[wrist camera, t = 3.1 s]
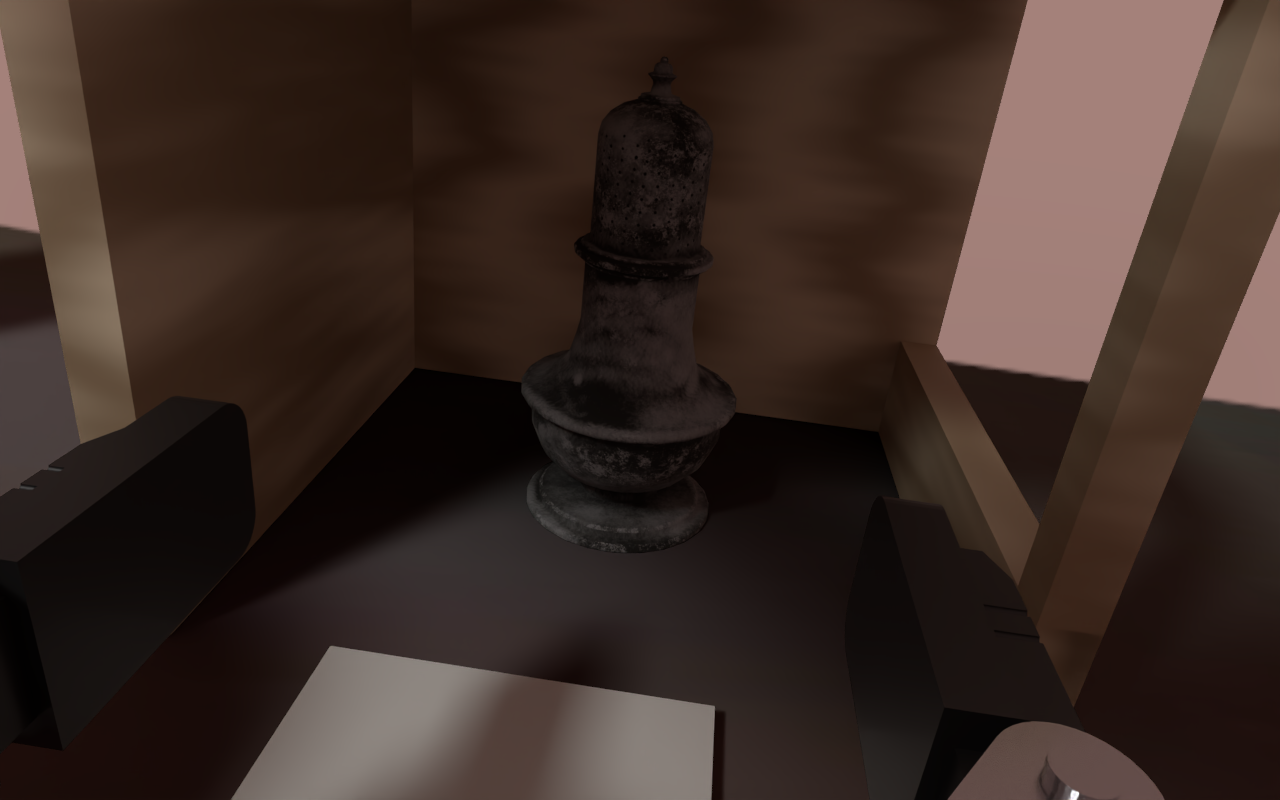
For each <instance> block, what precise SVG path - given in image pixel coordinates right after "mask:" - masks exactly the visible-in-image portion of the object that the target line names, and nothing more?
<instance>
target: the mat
mask: <svg viewBox="0 0 1280 800" xmlns="http://www.w3.org/2000/svg"><path fill="white" fill-rule="evenodd" d="M714 718H715V706H710V705H704V704H697V703H691V702H685V701H678V700H672V699H665V698H659V697H653V696H646V695H640V694H634V693H627V692H621V691H615V690H608V689H602V688H596V687H589V686H583V685H577V684H570V683H564V682H557V681H551V680H545V679H538V678H532V677H526V676H519V675H513V674H507V673H500V672H494V671H488V670H481V669H475V668H469V667H462V666H456V665H449V664H443V663H437V662H430V661H424V660H418V659H411V658H405V657H399V656H392V655H386V654H380V653H373V652H367V651H361V650H354V649H348V648H341V647H335V646H330V647H329V649H328V650H327V652H326V654H325V655H324V657H323V658H322V660H321V661H320V663H319V664H318V666H317V667H316V669H315V671H314V672H313V674H312V675H311V677H310V678H309V680H308V681H307V683H306V684H305V686H304V688H303V689H302V691H301V692H300V694H299V695H298V697H297V698H296V700H295V701H294V703H293V705H292V706H291V708H290V709H289V711H288V712H287V714H286V715H285V717H284V718H283V720H282V722H281V723H280V725H279V726H278V728H277V729H276V731H275V732H274V734H273V735H272V737H271V739H270V740H269V742H268V743H267V745H266V746H265V748H264V749H263V751H262V753H261V754H260V756H259V757H258V759H257V760H256V762H255V763H254V765H253V766H252V768H251V770H250V771H249V773H248V774H247V776H246V777H245V779H244V780H243V782H242V783H241V785H240V787H239V788H238V790H237V791H236V793H235V794H234V796H233V797H232V799H231V800H711V794H712V769H713V743H714Z"/></svg>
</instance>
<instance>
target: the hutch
mask: <svg viewBox="0 0 1280 800" xmlns="http://www.w3.org/2000/svg"><path fill="white" fill-rule="evenodd" d="M1026 4H1027V0H0V29H1V34H2V39H3V45H4V50H5V54H6V60H7V65H8V70H9V75H10V81H11V86H12V91H13V96H14V101H15V107H16V112H17V117H18V122H19V127H20V132H21V137H22V143H23V148H24V153H25V158H26V163H27V169H28V173H29V179H30V184H31V189H32V194H33V199H34V205H35V210H36V215H37V220H38V225H39V230H40V236H41V241H42V246H43V251H44V256H45V261H46V267H47V272H48V277H49V282H50V287H51V292H52V298H53V303H54V308H55V313H56V318H57V323H58V328H59V334H60V339H61V344H62V349H63V354H64V359H65V365H66V370H67V375H68V380H69V385H70V390H71V396H72V401H73V406H74V411H75V416H76V421H77V427H78V432H79V437H80V442H81V444H82V443H85V442H87V441H90V440H93V439H95V438H98V437H101V436H103V435H106V434H109V433H112V432H114V431H117V430H120V429H122V428H125V427H126V426H128V425H129V424H131V423H132V422H134V421H135V420H137V419H138V418H140V417H141V416H143V415H144V414H146V413H147V412H149V411H150V410H152V409H153V408H155V407H156V406H158V405H159V404H161V403H162V402H164V401H165V400H167V399H168V398H170V397H173V396H184V397H191V398H199V399H206V400H213V401H220V402H227V403H234V404H236V405H238V406H239V407H240V408H241V409H242V410H243V412H244V414H245V417H246V421H247V428H248V438H249V448H250V458H251V468H252V477H253V487H254V497H255V508H256V517H255V525H254V530H253V534H252V537H251V540H250V542H249V545H248V547H247V549H246V551H245V552H244V554H245V553H246V552H247V551H248V550H249V549H250V548H251V547H252V546H253V544H254V543H255V542H256V541H257V540H258V539H259V538H260V537H261V536H262V535H263V534H264V532H265V531H266V530H267V529H268V528H269V527H270V526H271V525H272V524H273V523H274V521H275V520H276V519H277V518H278V517H279V516H280V515H281V514H282V513H283V512H284V511H285V509H286V508H287V507H288V506H289V505H290V504H291V503H292V502H293V501H294V500H295V498H296V497H297V496H298V495H299V494H300V493H301V492H302V491H303V490H304V489H305V488H306V486H307V485H308V484H309V483H310V482H311V481H312V480H313V479H314V478H315V477H316V475H317V474H318V473H319V472H320V471H321V470H322V469H323V468H324V467H325V466H326V464H327V463H328V462H329V461H330V460H331V459H332V458H333V457H334V456H335V455H336V454H337V452H338V451H339V450H340V449H341V448H342V447H343V446H344V445H345V444H346V443H347V441H348V440H349V439H350V438H351V437H352V436H353V435H354V434H355V433H356V432H357V431H358V429H359V428H360V427H361V426H362V425H363V424H364V423H365V422H366V421H367V420H368V418H369V417H370V416H371V415H372V414H373V413H374V412H375V411H376V410H377V409H378V408H379V406H380V405H381V404H382V403H383V402H384V401H385V400H386V399H387V398H388V397H389V395H390V394H391V393H392V392H393V391H394V390H395V389H396V388H397V387H398V386H399V384H400V383H401V382H402V381H403V380H404V379H405V378H406V377H407V376H408V375H409V374H410V372H411V371H412V370H413V369H414V368H420V369H427V370H435V371H442V372H449V373H456V374H463V375H471V376H478V377H485V378H492V379H500V380H507V381H514V382H521V383H522V377H523V375H524V374H525V372H526V371H527V369H528V368H529V367H530V366H531V365H532V364H534V363H535V362H537V361H539V360H540V359H542V358H543V357H545V356H548V355H551V354H554V353H557V352H560V351H563V350H569V349H570V347H571V345H572V342H573V339H574V337H575V334H576V331H577V328H578V325H579V321H580V318H581V307H582V294H583V281H584V268H585V261H584V260H583V259H582V258H581V257H580V256H578V255H577V254H576V252H575V249H574V243H575V242H576V241H577V239H578V238H580V237H582V236H584V235H586V234H587V233H590V230H591V218H592V205H593V192H594V179H595V167H596V154H597V141H598V132H599V129H600V125H601V122H602V120H603V119H604V118H605V117H606V115H607V114H608V113H609V112H610V110H612V109H614V108H615V107H617V106H619V105H620V104H622V103H624V102H626V101H631V100H635V99H638V97H639V96H641V93H644V92H651V88H652V85H653V80H652V78H651V77H650V76H649V75H648V73H650V72H653V71H654V67H655V64H657V63H658V62H660V60H661V58H662V57H664V56H665V57H667V58H668V63H669V64H671V65H672V66H673V74H674V75H676V76H677V78H676V79H674V80H673V81H672V83H671V93H672V94H673V95H676V96H678V97H680V100H681V101H682V104H684V105H686V106H688V107H690V108H692V109H694V110H695V111H696V112H697V113H699V114H700V115H701V116H702V117H703V118H704V119H705V120H706V121H707V123H708V125H709V127H710V129H711V131H712V133H713V142H714V148H713V155H712V163H711V170H710V178H709V185H708V193H707V200H706V208H705V215H704V223H703V230H702V238H701V245H702V246H704V248H705V249H707V250H708V251H709V252H710V253H711V254H712V256H713V257H714V261H713V266H712V267H711V268H709V269H708V270H707V271H705V272H703V273H701V274H700V275H699V283H698V290H697V297H696V305H695V312H694V319H693V327H692V332H693V343H694V351H695V357H696V363H698V364H701V365H702V366H704V367H706V368H708V369H709V370H711V371H713V372H715V373H716V374H718V375H719V376H720V377H721V378H722V379H723V380H725V381H726V382H727V383H728V384H729V385H730V387H731V388H732V390H733V392H734V394H735V396H736V398H737V401H736V410H735V412H738V413H745V414H753V415H760V416H767V417H774V418H782V419H789V420H796V421H803V422H810V423H818V424H825V425H832V426H839V427H847V428H854V429H861V430H868V431H875V432H879V435H880V438H881V442H882V445H883V448H884V451H885V454H886V457H887V460H888V463H889V466H890V470H891V473H892V476H893V479H894V482H895V485H896V488H897V491H898V494H899V498H900V499H907V500H914V501H921V502H928V503H935V504H940V505H942V506H943V507H944V509H945V512H946V514H947V517H948V519H949V521H950V524H951V526H952V529H953V531H954V534H955V536H956V539H957V541H958V544H959V546H960V548H964V549H971V550H978V551H983V552H984V553H985V554H986V555H987V556H988V557H989V558H990V559H991V560H992V561H994V562H995V563H996V564H997V565H998V566H999V567H1000V568H1001V569H1002V570H1003V571H1004V572H1005V573H1006V574H1007V575H1008V576H1009V577H1010V578H1011V579H1012V580H1013V581H1014V583H1015V585H1016V587H1017V590H1018V592H1019V594H1020V596H1021V598H1022V600H1023V602H1024V604H1025V606H1026V608H1027V617H1031V619H1032V621H1033V623H1034V625H1035V627H1036V629H1037V631H1038V634H1039V636H1040V639H1039V642H1040V643H1043V644H1044V646H1045V648H1046V650H1047V652H1048V655H1049V657H1050V659H1051V661H1052V663H1053V665H1054V667H1055V669H1056V671H1057V673H1058V675H1059V678H1060V680H1061V682H1062V684H1063V686H1064V688H1065V690H1066V692H1067V694H1068V696H1069V699H1070V701H1071V703H1072V705H1073V707H1074V706H1075V703H1076V701H1077V699H1078V696H1079V694H1080V691H1081V689H1082V686H1083V684H1084V682H1085V679H1086V677H1087V674H1088V672H1089V670H1090V667H1091V665H1092V662H1093V660H1094V658H1095V655H1096V653H1097V650H1098V648H1099V646H1100V643H1101V641H1102V638H1103V636H1104V634H1105V631H1106V629H1107V626H1108V624H1109V621H1110V619H1111V617H1112V614H1113V612H1114V609H1115V607H1116V605H1117V602H1118V600H1119V597H1120V595H1121V593H1122V590H1123V588H1124V585H1125V583H1126V581H1127V578H1128V576H1129V573H1130V571H1131V569H1132V566H1133V564H1134V561H1135V559H1136V556H1137V554H1138V552H1139V549H1140V547H1141V544H1142V542H1143V540H1144V537H1145V535H1146V532H1147V530H1148V528H1149V525H1150V523H1151V520H1152V518H1153V516H1154V513H1155V511H1156V508H1157V506H1158V504H1159V501H1160V499H1161V496H1162V494H1163V491H1164V489H1165V487H1166V484H1167V482H1168V479H1169V477H1170V475H1171V472H1172V470H1173V467H1174V465H1175V463H1176V460H1177V458H1178V455H1179V453H1180V451H1181V448H1182V446H1183V443H1184V441H1185V438H1186V436H1187V434H1188V431H1189V429H1190V426H1191V424H1192V422H1193V419H1194V417H1195V414H1196V412H1197V410H1198V407H1199V405H1200V402H1201V400H1202V398H1203V395H1204V393H1205V390H1206V388H1207V386H1208V383H1209V380H1210V378H1211V376H1212V373H1213V371H1214V369H1215V366H1216V364H1217V361H1218V359H1219V357H1220V354H1221V352H1222V349H1223V347H1224V344H1225V342H1226V340H1227V337H1228V335H1229V332H1230V330H1231V328H1232V325H1233V323H1234V321H1235V318H1236V316H1237V313H1238V311H1239V308H1240V306H1241V304H1242V301H1243V299H1244V296H1245V294H1246V292H1247V289H1248V287H1249V284H1250V282H1251V279H1252V277H1253V275H1254V272H1255V270H1256V268H1257V265H1258V263H1259V260H1260V258H1261V256H1262V253H1263V251H1264V248H1265V246H1266V243H1267V241H1268V239H1269V236H1270V234H1271V231H1272V229H1273V227H1274V224H1275V222H1276V219H1277V217H1278V215H1279V212H1280V0H1224V1H1223V4H1222V7H1221V10H1220V13H1219V16H1218V18H1217V21H1216V24H1215V27H1214V30H1213V33H1212V35H1211V38H1210V41H1209V44H1208V47H1207V50H1206V53H1205V55H1204V58H1203V61H1202V64H1201V67H1200V70H1199V72H1198V76H1197V78H1196V81H1195V84H1194V87H1193V90H1192V93H1191V95H1190V98H1189V101H1188V104H1187V107H1186V109H1185V112H1184V115H1183V118H1182V121H1181V124H1180V126H1179V129H1178V132H1177V135H1176V138H1175V141H1174V144H1173V146H1172V149H1171V152H1170V155H1169V158H1168V161H1167V163H1166V166H1165V169H1164V172H1163V175H1162V178H1161V181H1160V184H1159V186H1158V189H1157V192H1156V195H1155V198H1154V200H1153V203H1152V206H1151V209H1150V212H1149V215H1148V217H1147V220H1146V224H1145V226H1144V229H1143V232H1142V235H1141V237H1140V240H1139V243H1138V246H1137V249H1136V252H1135V254H1134V257H1133V260H1132V263H1131V266H1130V269H1129V272H1128V275H1127V277H1126V280H1125V283H1124V286H1123V289H1122V292H1121V295H1120V297H1119V300H1118V303H1117V306H1116V309H1115V312H1114V314H1113V317H1112V320H1111V323H1110V326H1109V328H1108V331H1107V334H1106V337H1105V340H1104V343H1103V346H1102V348H1101V351H1100V354H1099V357H1098V360H1097V363H1096V365H1095V368H1094V371H1093V374H1092V377H1091V380H1090V382H1089V385H1088V388H1087V391H1086V394H1085V397H1084V400H1083V402H1082V405H1081V408H1080V411H1079V414H1078V417H1077V419H1076V422H1075V425H1074V428H1073V431H1072V434H1071V436H1070V439H1069V442H1068V445H1067V448H1066V451H1065V454H1064V456H1063V459H1062V462H1061V465H1060V468H1059V471H1058V473H1057V476H1056V479H1055V482H1054V485H1053V488H1052V491H1051V493H1050V496H1049V499H1048V502H1047V505H1046V508H1045V510H1044V513H1043V516H1042V519H1041V522H1040V525H1039V523H1038V521H1037V519H1036V518H1035V516H1034V514H1033V512H1032V511H1031V509H1030V507H1029V506H1028V504H1027V502H1026V500H1025V499H1024V497H1023V495H1022V493H1021V492H1020V490H1019V488H1018V486H1017V485H1016V483H1015V481H1014V480H1013V478H1012V476H1011V474H1010V473H1009V471H1008V469H1007V467H1006V466H1005V464H1004V462H1003V460H1002V459H1001V457H1000V455H999V453H998V452H997V450H996V448H995V447H994V445H993V443H992V441H991V440H990V438H989V436H988V434H987V433H986V431H985V429H984V427H983V426H982V424H981V422H980V420H979V419H978V417H977V415H976V414H975V412H974V410H973V408H972V407H971V405H970V403H969V401H968V400H967V398H966V396H965V394H964V393H963V391H962V389H961V388H960V386H959V384H958V382H957V381H956V379H955V377H954V375H953V374H952V372H951V370H950V368H949V367H948V365H947V363H946V361H945V360H944V358H943V356H942V355H941V353H940V351H939V349H938V348H937V346H936V344H937V340H938V337H939V333H940V329H941V326H942V322H943V318H944V314H945V310H946V307H947V303H948V299H949V295H950V291H951V288H952V284H953V280H954V277H955V273H956V269H957V265H958V261H959V257H960V254H961V250H962V246H963V243H964V239H965V235H966V231H967V227H968V224H969V220H970V216H971V212H972V208H973V205H974V201H975V197H976V193H977V190H978V186H979V182H980V178H981V175H982V171H983V167H984V163H985V159H986V155H987V152H988V148H989V144H990V140H991V137H992V133H993V129H994V125H995V121H996V118H997V114H998V110H999V106H1000V103H1001V99H1002V95H1003V91H1004V88H1005V84H1006V80H1007V76H1008V72H1009V69H1010V65H1011V61H1012V57H1013V54H1014V50H1015V46H1016V42H1017V38H1018V34H1019V31H1020V27H1021V23H1022V19H1023V16H1024V12H1025V8H1026ZM244 554H243V555H244ZM243 555H242V557H243ZM242 557H241V558H242ZM241 558H240V559H241ZM240 559H239V560H240ZM239 560H238V561H239ZM238 561H237V562H238ZM237 562H236V563H237ZM236 563H235V564H236ZM232 568H233V567H232ZM232 568H231V569H232ZM231 569H230V570H231ZM230 570H229V571H230ZM229 571H228V572H229ZM228 572H227V573H228ZM227 573H226V574H227ZM226 574H225V575H226ZM225 575H224V576H225ZM221 580H222V579H221ZM221 580H220V581H221ZM220 581H219V582H220ZM219 582H218V583H219ZM218 583H217V584H218ZM217 584H216V585H217ZM216 585H215V586H216ZM215 586H214V587H215ZM214 587H213V588H214ZM213 588H212V589H213ZM211 591H212V590H211ZM211 591H210V592H211ZM210 592H209V593H210ZM209 593H208V594H209ZM208 594H207V595H208ZM207 595H206V596H207ZM206 596H205V597H206ZM205 597H204V598H205ZM204 598H203V599H204ZM203 599H202V600H203ZM202 600H201V601H202ZM200 603H201V602H200ZM200 603H199V604H200ZM199 604H198V605H199ZM198 605H197V606H198ZM197 606H196V607H197ZM196 607H195V608H196ZM195 608H194V609H195ZM194 609H193V610H194ZM193 610H192V611H193ZM192 611H191V612H192ZM191 612H190V613H189V615H190V614H191ZM189 615H188V616H189ZM188 616H187V617H188ZM187 617H186V618H187ZM186 618H185V619H186ZM185 619H184V620H185ZM184 620H183V621H184ZM183 621H182V622H183ZM182 622H181V623H182ZM181 623H180V624H181ZM180 624H179V625H178V627H179V626H180ZM178 627H177V628H178ZM177 628H176V629H177ZM176 629H175V630H176ZM175 630H174V631H175ZM174 631H173V632H174ZM173 632H172V633H173ZM172 633H171V634H172ZM171 634H170V635H171Z"/></svg>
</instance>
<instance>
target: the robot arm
mask: <svg viewBox="0 0 1280 800" xmlns="http://www.w3.org/2000/svg"><path fill="white" fill-rule="evenodd" d="M255 517H256V508H255V497H254V487H253V477H252V468H251V458H250V448H249V438H248V428H247V421H246V417H245V414H244V412H243V410H242V409H241V408H240V407H239V406H238V405H236V404H234V403H227V402H220V401H213V400H206V399H199V398H191V397H184V396H173V397H170V398H168V399H167V400H165V401H164V402H162V403H161V404H159V405H158V406H156V407H155V408H153V409H152V410H150V411H149V412H147V413H146V414H144V415H143V416H141V417H140V418H138V419H137V420H135V421H134V422H132V423H131V424H129V425H128V426H126V427H125V428H122V429H120V430H117V431H114V432H112V433H109V434H106V435H103V436H101V437H98V438H95V439H93V440H90V441H87V442H85V443H82V444H80V445H79V446H77V447H76V448H74V449H73V450H71V451H70V452H68V453H67V454H65V455H64V456H62V457H60V458H59V459H57V460H56V461H54V462H53V463H51V464H50V465H49V468H48V470H41V471H39V472H37V473H36V474H34V475H33V476H31V477H30V478H28V479H27V480H25V481H24V482H22V483H21V486H20V488H19V489H15V488H13V489H11V490H10V491H8V492H7V493H5V494H4V495H2V496H1V497H0V753H1V752H2V751H3V750H4V749H5V748H6V747H7V746H8V745H9V744H10V743H11V742H13V743H19V744H25V745H31V746H37V747H43V748H49V749H55V750H61V751H63V750H64V749H65V748H66V747H67V746H68V745H69V744H70V743H71V742H72V741H73V740H74V738H75V737H76V736H77V735H78V734H79V733H80V732H81V731H82V730H83V729H84V728H85V726H86V725H87V724H88V723H89V722H90V721H91V720H92V719H93V718H94V717H95V716H96V715H97V713H98V712H99V711H100V710H101V709H102V708H103V707H104V706H105V705H106V704H107V703H108V701H109V700H110V699H111V698H112V697H113V696H114V695H115V694H116V693H117V692H118V691H119V690H120V688H121V687H122V686H123V685H124V684H125V683H126V682H127V681H128V680H129V679H130V678H131V677H132V675H133V674H134V673H135V672H136V671H137V670H138V669H139V668H140V667H141V666H142V665H143V663H144V662H145V661H146V660H147V659H148V658H149V657H150V656H151V655H152V654H153V653H154V652H155V650H156V649H157V648H158V647H159V646H160V645H161V644H162V643H163V642H164V641H165V640H166V638H167V637H168V636H169V635H170V634H171V633H172V632H173V631H174V630H175V629H176V628H177V627H178V625H179V624H180V623H181V622H182V621H183V620H184V619H185V618H186V617H187V616H188V615H189V613H190V612H191V611H192V610H193V609H194V608H195V607H196V606H197V605H198V604H199V603H200V602H201V600H202V599H203V598H204V597H205V596H206V595H207V594H208V593H209V592H210V591H211V590H212V588H213V587H214V586H215V585H216V584H217V583H218V582H219V581H220V580H221V579H222V578H223V577H224V575H225V574H226V573H227V572H228V571H229V570H230V569H231V568H232V567H233V566H234V565H235V563H236V562H237V561H238V560H239V559H240V558H241V557H242V555H243V554H244V552H245V551H246V549H247V547H248V545H249V542H250V540H251V537H252V534H253V530H254V525H255ZM1039 639H1040V636H1039V634H1038V631H1037V629H1036V627H1035V625H1034V623H1033V621H1032V619H1031V617H1027V608H1026V606H1025V604H1024V602H1023V600H1022V598H1021V596H1020V594H1019V592H1018V590H1017V587H1016V585H1015V583H1014V581H1013V580H1012V579H1011V578H1010V577H1009V576H1008V575H1007V574H1006V573H1005V572H1004V571H1003V570H1002V569H1001V568H1000V567H999V566H998V565H997V564H996V563H995V562H994V561H992V560H991V559H990V558H989V557H988V556H987V555H986V554H985V553H984V552H983V551H978V550H971V549H964V548H960V546H959V544H958V541H957V539H956V536H955V534H954V531H953V529H952V526H951V524H950V521H949V519H948V517H947V514H946V512H945V509H944V507H943V506H942V505H940V504H935V503H928V502H921V501H914V500H907V499H900V498H893V497H885V496H878V497H877V498H876V500H875V501H874V504H873V506H872V509H871V512H870V516H869V520H868V524H867V528H866V532H865V536H864V540H863V544H862V548H861V552H860V556H859V560H858V564H857V568H856V572H855V576H854V580H853V584H852V588H851V592H850V596H849V601H848V606H847V613H846V623H845V649H846V656H847V662H848V668H849V674H850V681H851V687H852V693H853V699H854V705H855V711H856V718H857V724H858V730H859V736H860V742H861V748H862V755H863V761H864V767H865V773H866V779H867V786H868V792H869V798H870V800H1164V798H1163V796H1162V794H1161V793H1160V791H1159V790H1158V788H1157V787H1156V785H1155V784H1154V783H1153V781H1152V780H1151V779H1150V778H1149V777H1148V776H1147V775H1146V774H1145V772H1144V771H1143V770H1142V769H1140V768H1139V767H1138V766H1137V765H1136V764H1135V763H1134V762H1133V761H1132V760H1130V759H1129V758H1128V757H1126V756H1125V755H1124V754H1122V753H1121V752H1120V751H1118V750H1117V749H1115V748H1114V747H1112V746H1110V745H1109V744H1107V743H1106V742H1104V741H1102V740H1100V739H1098V738H1096V737H1094V736H1092V735H1090V734H1088V733H1086V732H1085V730H1084V728H1083V726H1082V724H1081V722H1080V720H1079V717H1078V715H1077V713H1076V711H1075V709H1074V707H1073V705H1072V703H1071V701H1070V699H1069V696H1068V694H1067V692H1066V690H1065V688H1064V686H1063V684H1062V682H1061V680H1060V678H1059V675H1058V673H1057V671H1056V669H1055V667H1054V665H1053V663H1052V661H1051V659H1050V657H1049V655H1048V652H1047V650H1046V648H1045V646H1044V644H1043V643H1040V642H1039ZM0 785H1V783H0Z"/></svg>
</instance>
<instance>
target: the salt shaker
mask: <svg viewBox="0 0 1280 800" xmlns="http://www.w3.org/2000/svg"><path fill="white" fill-rule="evenodd" d="M648 75H649V76H650V77H651V78H652V80H653V85H652V88H651V92H644V93H641V96H639V97H638V99H635V100H631V101H626V102H624V103H622V104H620V105H619V106H617V107H615V108H614V109H612V110H610V112H609V113H608V114H607V115H606V117H605V118H604V119H603V120H602V122H601V125H600V129H599V132H598V141H597V154H596V167H595V179H594V192H593V205H592V218H591V230H590V233H587V234H586V235H584V236H582V237H580V238H578V239H577V241H576V242H575V243H574V249H575V252H576V254H577V255H578V256H580V257H581V258H582V259H583V260H584V261H585V268H584V281H583V294H582V307H581V318H580V321H579V325H578V328H577V331H576V334H575V337H574V339H573V342H572V345H571V347H570V349H569V350H563V351H560V352H557V353H554V354H551V355H548V356H545V357H543V358H542V359H540V360H539V361H537V362H535V363H534V364H532V365H531V366H530V367H529V368H528V369H527V371H526V372H525V374H524V375H523V377H522V388H521V393H522V395H523V396H524V398H525V400H526V401H527V403H528V405H529V406H530V407H531V408H532V423H533V425H534V428H535V430H536V433H537V436H538V438H539V441H540V443H541V446H542V447H543V449H544V451H545V452H546V454H547V456H548V457H549V458H550V459H552V460H553V461H552V462H550V463H548V464H546V465H545V466H543V467H542V468H541V469H540V470H539V471H537V472H536V473H535V474H534V475H533V476H532V478H531V480H530V482H529V484H528V486H527V505H528V507H529V509H530V511H531V513H532V515H533V517H534V518H535V519H536V520H537V521H538V522H539V523H540V524H541V525H542V526H543V527H544V528H545V529H547V530H548V531H550V532H552V533H554V534H555V535H557V536H559V537H561V538H562V539H564V540H567V541H569V542H572V543H575V544H578V545H581V546H584V547H587V548H591V549H597V550H603V551H609V552H623V553H642V552H649V551H655V550H662V549H666V548H669V547H672V546H675V545H677V544H680V543H683V542H685V541H686V540H688V539H689V538H691V537H692V536H694V535H695V534H697V533H698V532H699V531H700V529H701V528H702V527H703V525H704V524H705V522H706V521H707V515H708V508H709V503H708V500H707V497H706V494H705V491H704V490H703V489H702V488H701V487H700V485H699V484H698V483H697V482H696V481H695V480H694V479H693V478H692V477H691V476H689V475H690V474H691V473H693V472H695V471H696V470H698V469H699V467H700V466H701V465H702V464H703V462H704V461H705V460H706V458H707V457H708V455H709V454H710V452H711V451H712V449H713V447H714V446H715V444H716V443H717V441H718V440H719V434H720V428H722V427H724V426H725V425H726V424H727V423H728V422H729V421H730V419H731V418H732V417H733V416H734V414H735V410H736V401H737V398H736V396H735V394H734V392H733V390H732V388H731V387H730V385H729V384H728V383H727V382H726V381H725V380H723V379H722V378H721V377H720V376H719V375H718V374H716V373H715V372H713V371H711V370H709V369H708V368H706V367H704V366H702V365H701V364H698V363H696V357H695V351H694V343H693V332H692V327H693V319H694V312H695V305H696V297H697V290H698V283H699V275H700V274H701V273H703V272H705V271H707V270H708V269H709V268H711V267H712V266H713V261H714V257H713V256H712V254H711V253H710V252H709V251H708V250H707V249H705V248H704V246H702V245H701V238H702V230H703V223H704V215H705V208H706V200H707V193H708V185H709V178H710V170H711V163H712V155H713V148H714V142H713V133H712V131H711V129H710V127H709V125H708V123H707V121H706V120H705V119H704V118H703V117H702V116H701V115H700V114H699V113H697V112H696V111H695V110H694V109H692V108H690V107H688V106H686V105H684V104H682V101H681V100H680V97H678V96H676V95H673V94H672V93H671V83H672V81H673V80H674V79H676V78H677V76H676V75H674V74H673V66H672V65H671V64H669V63H668V58H667V57H665V56H664V57H662V58H661V60H660V62H658V63H657V64H655V67H654V71H653V72H650V73H648Z"/></svg>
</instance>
